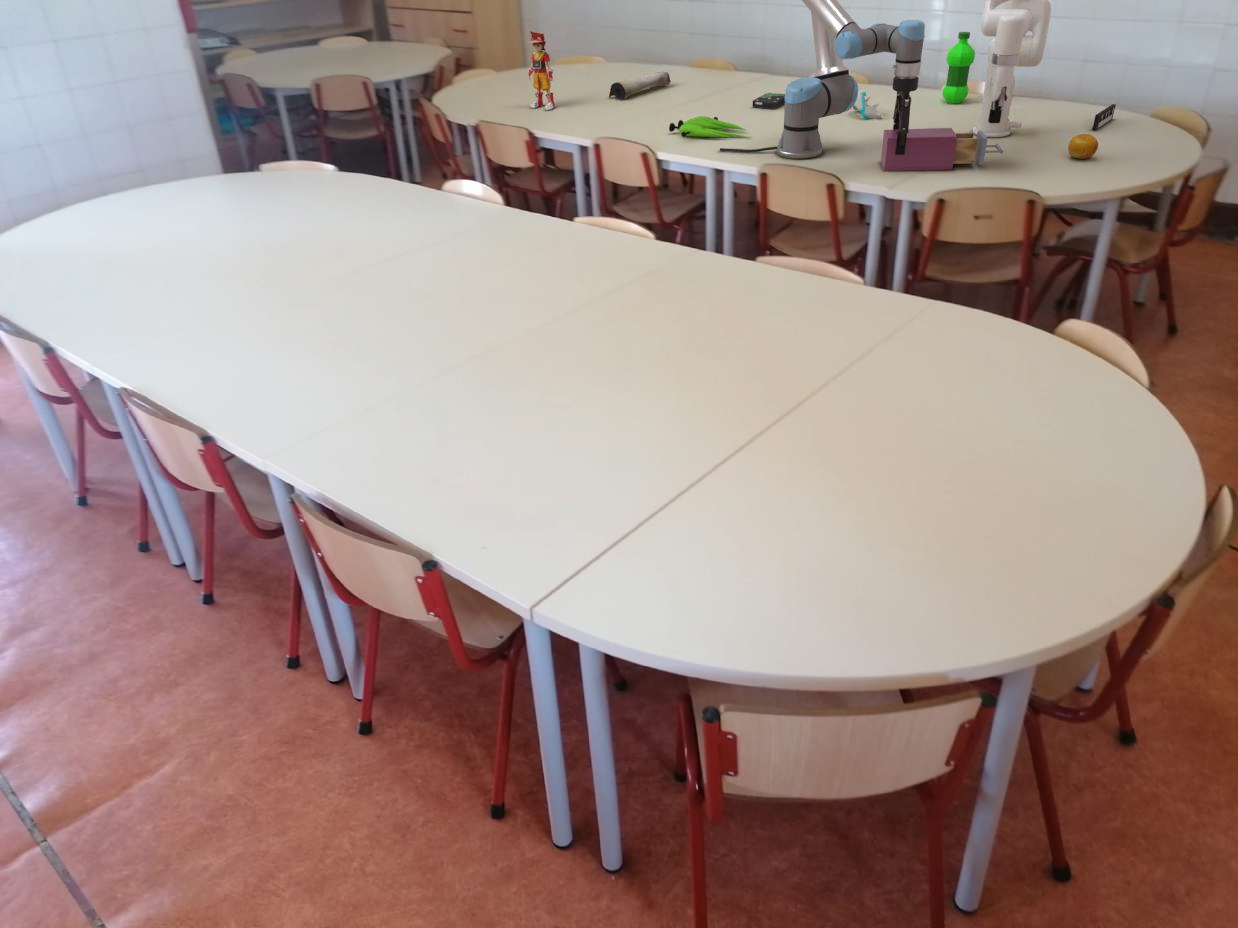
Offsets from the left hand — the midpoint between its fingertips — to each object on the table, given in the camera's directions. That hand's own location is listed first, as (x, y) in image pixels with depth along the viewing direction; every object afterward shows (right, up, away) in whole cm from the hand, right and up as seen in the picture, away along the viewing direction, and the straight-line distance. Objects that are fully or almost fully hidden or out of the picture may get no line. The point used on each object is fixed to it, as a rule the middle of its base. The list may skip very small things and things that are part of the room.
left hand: (897, 149), depth 289 cm
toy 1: (-123, +51, +94) cm, 163 cm away
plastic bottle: (+43, +42, +66) cm, 89 cm away
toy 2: (-55, +22, +46) cm, 75 cm away
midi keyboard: (+82, +19, +29) cm, 89 cm away
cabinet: (+7, -4, +2) cm, 8 cm away
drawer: (+19, -4, 0) cm, 20 cm away
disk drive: (-28, +46, +78) cm, 94 cm away
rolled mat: (-80, +63, +108) cm, 149 cm away
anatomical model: (+4, +33, +57) cm, 66 cm away
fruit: (+59, -3, 0) cm, 59 cm away
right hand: (+28, +6, -8) cm, 29 cm away
